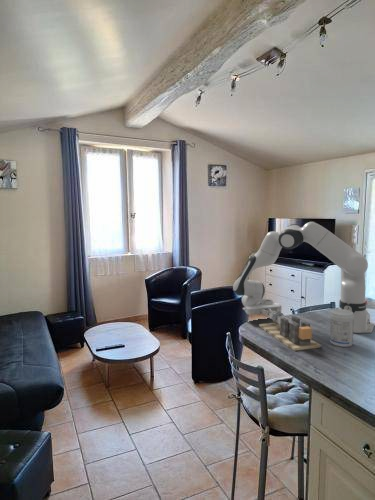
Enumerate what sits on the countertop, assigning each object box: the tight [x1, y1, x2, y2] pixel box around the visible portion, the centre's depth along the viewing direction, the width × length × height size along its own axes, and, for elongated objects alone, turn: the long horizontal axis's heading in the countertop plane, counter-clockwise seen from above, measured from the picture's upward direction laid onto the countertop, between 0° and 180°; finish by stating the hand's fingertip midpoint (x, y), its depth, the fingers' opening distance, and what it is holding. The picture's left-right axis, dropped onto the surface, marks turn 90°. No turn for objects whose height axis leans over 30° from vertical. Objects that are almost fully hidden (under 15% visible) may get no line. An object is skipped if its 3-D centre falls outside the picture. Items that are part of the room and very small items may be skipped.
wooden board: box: [258, 315, 321, 351], centre depth 157 cm, size 33×13×10 cm, turn 14°
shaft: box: [268, 311, 299, 331], centre depth 160 cm, size 22×6×6 cm, turn 14°
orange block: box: [299, 326, 313, 340], centre depth 142 cm, size 3×5×5 cm, turn 104°
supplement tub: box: [329, 308, 354, 348], centre depth 146 cm, size 10×10×15 cm
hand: (269, 312), depth 173 cm, fingers closed
